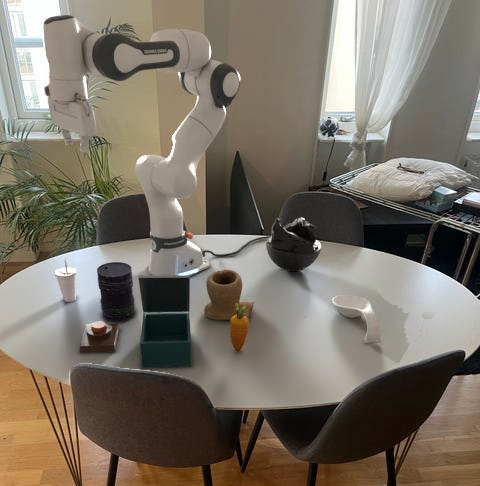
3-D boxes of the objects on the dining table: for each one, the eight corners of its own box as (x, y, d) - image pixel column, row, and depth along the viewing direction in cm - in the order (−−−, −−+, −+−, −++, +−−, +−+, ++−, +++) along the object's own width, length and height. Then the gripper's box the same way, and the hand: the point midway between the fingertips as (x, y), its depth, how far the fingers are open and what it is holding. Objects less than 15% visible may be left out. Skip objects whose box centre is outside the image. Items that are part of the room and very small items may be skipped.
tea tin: (191, 366, 122) (190, 342, 117) (141, 368, 120) (139, 343, 116) (189, 335, 134) (189, 312, 130) (145, 336, 132) (143, 313, 128)
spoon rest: (325, 304, 153) (328, 285, 150) (358, 302, 156) (362, 283, 152) (354, 345, 134) (359, 324, 130) (392, 342, 136) (397, 321, 132)
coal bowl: (326, 266, 178) (333, 219, 169) (303, 285, 164) (309, 235, 154) (280, 253, 187) (284, 207, 177) (254, 270, 172) (257, 221, 163)
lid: (189, 277, 116) (189, 274, 117) (138, 277, 115) (138, 275, 115) (189, 312, 129) (189, 309, 130) (143, 312, 128) (143, 310, 128)
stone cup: (202, 325, 139) (202, 280, 131) (205, 305, 149) (206, 262, 141) (253, 328, 139) (256, 283, 131) (253, 308, 149) (256, 265, 141)
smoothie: (74, 305, 145) (67, 264, 138) (55, 302, 146) (47, 261, 139) (84, 295, 150) (78, 255, 143) (65, 292, 151) (59, 253, 144)
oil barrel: (141, 309, 145) (138, 265, 137) (124, 325, 137) (120, 279, 129) (113, 303, 147) (108, 259, 139) (95, 318, 139) (89, 272, 131)
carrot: (228, 347, 130) (230, 300, 122) (245, 347, 130) (249, 300, 122) (229, 357, 126) (231, 309, 118) (247, 357, 126) (251, 309, 118)
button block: (115, 352, 125) (113, 339, 123) (80, 353, 124) (78, 340, 122) (119, 329, 135) (118, 317, 133) (86, 330, 134) (85, 318, 131)
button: (105, 333, 126) (104, 328, 125) (91, 333, 126) (90, 328, 125) (106, 326, 129) (106, 320, 128) (93, 326, 129) (92, 321, 128)
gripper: (99, 96, 113) (105, 155, 121) (64, 86, 126) (72, 140, 133) (74, 97, 110) (82, 157, 117) (41, 87, 123) (50, 142, 130)
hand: (76, 148), depth 125 cm, fingers open, 8 cm apart
